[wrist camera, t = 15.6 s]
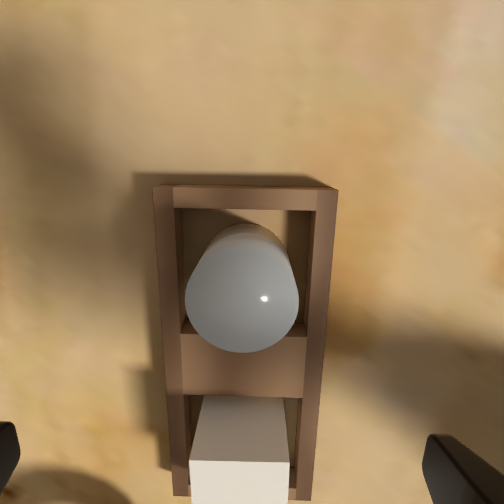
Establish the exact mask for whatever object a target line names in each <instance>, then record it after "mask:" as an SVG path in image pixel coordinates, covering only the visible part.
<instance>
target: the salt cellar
mask: <svg viewBox="0 0 504 504" xmlns="http://www.w3.org/2000/svg"><path fill="white" fill-rule="evenodd" d="M185 307H186V312H187V315H188V318H189V320H190V322H191V324H192V326H193V327H194V329H195V330H196V331H197V333H198V334H199V335H200V336H201V337H202V338H204V339H205V340H206V341H207V342H209V343H211V344H212V345H214V346H216V347H218V348H220V349H223V350H226V351H231V352H238V353H249V352H256V351H259V350H263V349H265V348H268V347H270V346H272V345H274V344H275V343H277V342H278V341H279V340H281V339H282V338H283V337H284V336H285V335H286V334H287V333H288V331H289V330H290V329H291V327H292V325H293V324H294V321H295V319H296V316H297V313H298V307H299V296H298V290H297V286H296V283H295V279H294V275H293V272H292V268H291V265H290V261H289V258H288V254H287V251H286V249H285V246H284V245H283V243H282V241H281V240H280V239H279V238H278V237H277V236H276V235H275V234H274V233H273V232H271V231H270V230H268V229H266V228H264V227H262V226H259V225H255V224H248V223H245V224H237V225H233V226H230V227H228V228H226V229H224V230H222V231H221V232H219V233H218V234H217V235H216V236H215V237H214V238H213V239H212V241H211V242H210V244H209V245H208V247H207V249H206V251H205V252H204V254H203V256H202V258H201V259H200V261H199V263H198V264H197V266H196V268H195V270H194V271H193V273H192V275H191V277H190V279H189V281H188V284H187V287H186V292H185Z"/></svg>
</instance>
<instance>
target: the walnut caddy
mask: <svg viewBox="0 0 504 504" xmlns="http://www.w3.org/2000/svg"><path fill="white" fill-rule="evenodd" d="M152 190H153V205H154V219H155V234H156V249H157V263H158V278H159V293H160V307H161V322H162V336H163V351H164V366H165V380H166V395H167V410H168V424H169V439H170V453H171V468H172V483H173V496H190V497H191V483H190V467H189V458H190V454H191V450H192V441H191V419H190V397H189V395H219V396H253V397H287V398H299V399H298V414H297V429H296V444H295V459H294V467H289V488H288V500H304V501H311V493H312V481H313V470H314V459H315V448H316V437H317V425H318V414H319V403H320V392H321V380H322V369H323V358H324V347H325V336H326V324H327V313H328V302H329V291H330V280H331V268H332V257H333V246H334V235H335V223H336V212H337V201H338V190H337V189H334V188H332V187H282V186H228V185H173V184H160V185H157V186H154V187H152ZM181 208H209V209H260V210H311V221H310V236H309V251H308V265H307V280H306V295H305V310H304V324H293V325H292V327H291V329H290V330H289V331H288V333H287V334H286V335H285V336H284V337H283V338H282V339H281V340H279V341H278V342H277V343H275V344H274V345H272V346H270V347H268V348H265V349H263V350H259V351H256V352H249V353H238V352H231V351H226V350H223V349H220V348H218V347H216V346H214V345H212V344H211V343H209V342H207V341H206V340H205V339H204V338H202V337H201V336H200V335H199V334H198V333H197V331H196V330H195V329H194V327H193V326H192V324H191V322H190V321H186V307H185V285H184V263H183V241H182V218H181Z"/></svg>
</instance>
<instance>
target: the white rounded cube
mask: <svg viewBox="0 0 504 504" xmlns="http://www.w3.org/2000/svg"><path fill="white" fill-rule="evenodd" d="M189 467H190V483H191V499H192V504H288V488H289V467H290V461H289V451H288V441H287V430H286V420H285V410H284V400H283V397H253V396H219V395H204V398H203V402H202V406H201V411H200V415H199V419H198V424H197V428H196V432H195V437H194V441H193V445H192V450H191V454H190V458H189Z"/></svg>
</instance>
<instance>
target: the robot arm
mask: <svg viewBox="0 0 504 504" xmlns="http://www.w3.org/2000/svg"><path fill="white" fill-rule="evenodd" d="M19 458H20V446H19V441H18V437H17V433H16V429H15V425H14V424H13V423H12V422H5V421H0V495H1V494H2V492H3V490H4V488H5V486H6V484H7V482H8V481H9V479H10V477H11V475H12V473H13V471H14V469H15V468H16V466H17V464H18V461H19ZM422 470H423V475H424V478H425V481H426V484H427V487H428V490H429V492H430V495H431V498H432V501H433V504H504V475H503V474H502V473H500V472H499V471H498V470H496V469H495V468H494V467H492V466H491V465H490V464H488V463H487V462H486V461H484V460H483V459H482V458H480V457H479V456H478V455H476V454H475V453H474V452H472V451H471V450H470V449H469V448H467V447H466V446H465V445H463V444H462V443H461V442H459V441H458V440H457V439H455V438H454V437H452V436H451V435H448V434H430V435H429V436H428V438H427V442H426V446H425V451H424V456H423V461H422Z"/></svg>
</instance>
